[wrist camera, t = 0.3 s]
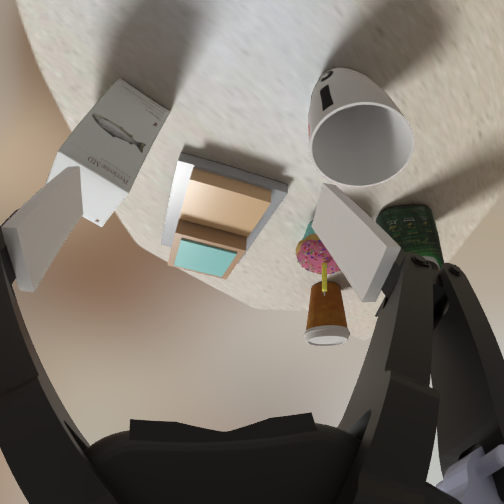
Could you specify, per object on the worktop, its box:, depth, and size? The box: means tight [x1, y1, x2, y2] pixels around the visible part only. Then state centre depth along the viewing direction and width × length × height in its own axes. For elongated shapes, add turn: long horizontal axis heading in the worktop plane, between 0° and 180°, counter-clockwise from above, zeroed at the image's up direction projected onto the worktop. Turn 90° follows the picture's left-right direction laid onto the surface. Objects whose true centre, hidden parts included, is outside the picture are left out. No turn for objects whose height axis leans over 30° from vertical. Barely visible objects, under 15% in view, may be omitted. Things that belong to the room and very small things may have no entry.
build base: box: [161, 153, 288, 279], centre depth 42 cm, size 20×14×6 cm
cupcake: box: [296, 222, 341, 296], centre depth 41 cm, size 9×8×12 cm
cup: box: [308, 67, 415, 187], centre depth 22 cm, size 8×8×10 cm
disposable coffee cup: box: [304, 282, 350, 346], centre depth 59 cm, size 10×10×12 cm
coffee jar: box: [376, 205, 447, 312], centre depth 35 cm, size 10×8×19 cm
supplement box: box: [45, 78, 170, 227], centre depth 25 cm, size 7×7×13 cm
